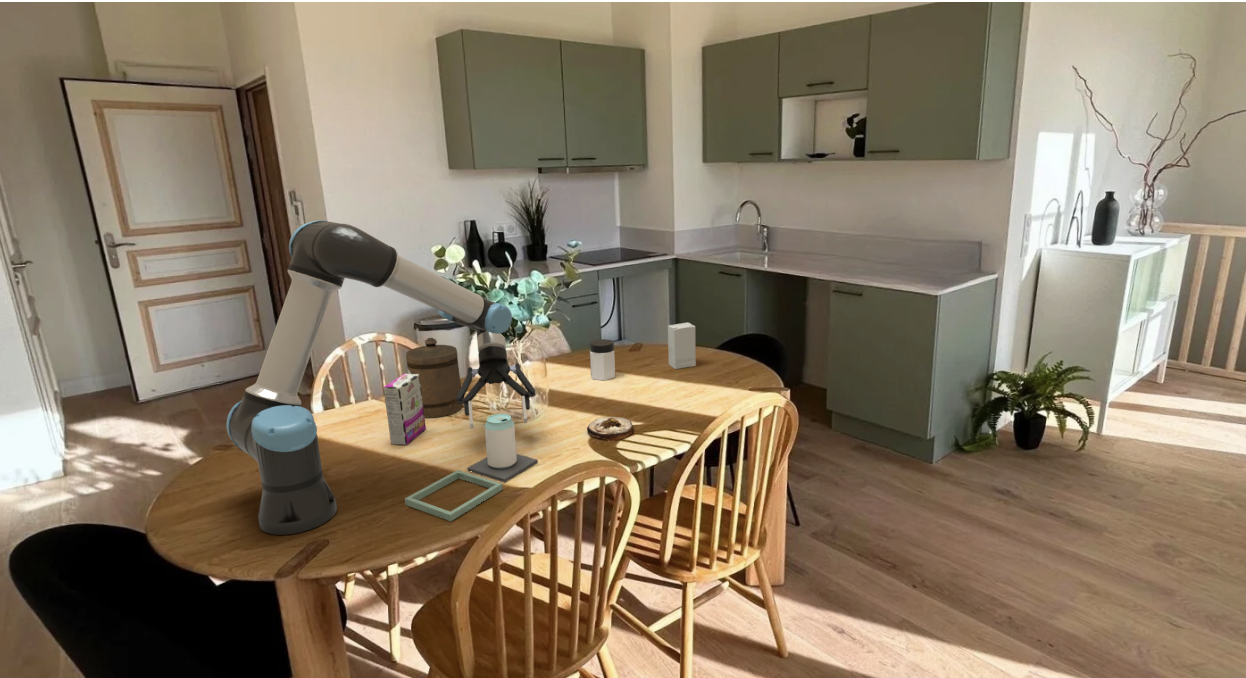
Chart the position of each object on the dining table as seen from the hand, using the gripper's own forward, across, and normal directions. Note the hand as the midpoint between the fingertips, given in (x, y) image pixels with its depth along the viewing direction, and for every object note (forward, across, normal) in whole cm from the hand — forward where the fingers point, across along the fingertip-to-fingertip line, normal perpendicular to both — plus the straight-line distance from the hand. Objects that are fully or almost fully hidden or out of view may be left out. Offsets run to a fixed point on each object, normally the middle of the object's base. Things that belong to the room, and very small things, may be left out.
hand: (498, 423), depth 177 cm
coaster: (+12, 0, +2) cm, 13 cm away
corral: (+21, +11, +12) cm, 27 cm away
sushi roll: (+3, -30, -8) cm, 31 cm away
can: (+12, 0, +3) cm, 12 cm away
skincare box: (-33, -66, -43) cm, 85 cm away
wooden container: (-19, +17, -30) cm, 39 cm away
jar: (-30, -37, -41) cm, 63 cm away
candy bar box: (-5, +24, -16) cm, 29 cm away
